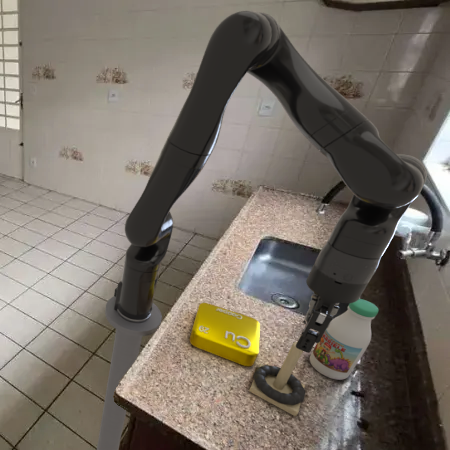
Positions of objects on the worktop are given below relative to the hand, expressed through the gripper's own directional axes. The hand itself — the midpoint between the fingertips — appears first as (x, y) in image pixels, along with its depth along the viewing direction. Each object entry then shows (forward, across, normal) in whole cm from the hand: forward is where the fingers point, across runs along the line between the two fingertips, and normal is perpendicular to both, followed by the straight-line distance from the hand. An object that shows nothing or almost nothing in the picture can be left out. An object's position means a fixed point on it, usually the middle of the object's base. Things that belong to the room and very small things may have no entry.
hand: (305, 336), depth 68 cm
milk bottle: (+20, -20, +8) cm, 29 cm away
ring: (+17, -3, 0) cm, 17 cm away
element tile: (+20, -12, -14) cm, 27 cm away
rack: (+20, -4, 0) cm, 20 cm away
